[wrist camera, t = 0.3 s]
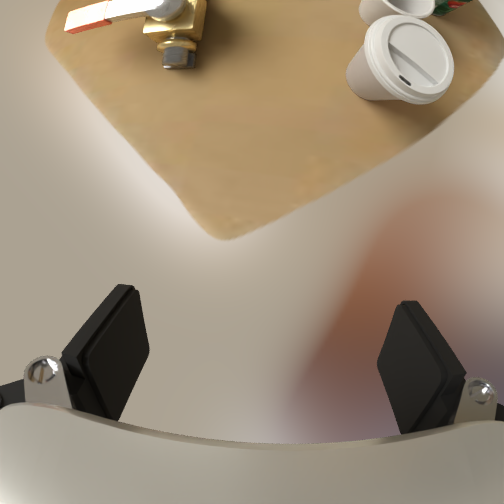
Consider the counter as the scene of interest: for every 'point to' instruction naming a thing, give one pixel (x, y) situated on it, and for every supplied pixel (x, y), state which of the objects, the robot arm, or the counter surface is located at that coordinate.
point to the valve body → (178, 35)
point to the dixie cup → (394, 9)
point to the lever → (121, 13)
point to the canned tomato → (447, 6)
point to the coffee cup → (401, 62)
